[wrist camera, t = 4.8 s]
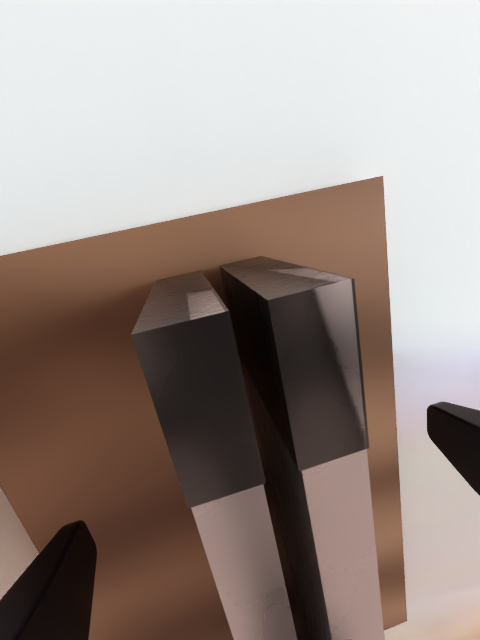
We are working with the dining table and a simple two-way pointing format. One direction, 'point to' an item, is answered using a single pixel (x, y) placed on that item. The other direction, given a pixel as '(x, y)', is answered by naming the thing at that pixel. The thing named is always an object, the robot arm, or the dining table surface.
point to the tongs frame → (312, 436)
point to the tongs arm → (214, 448)
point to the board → (138, 409)
